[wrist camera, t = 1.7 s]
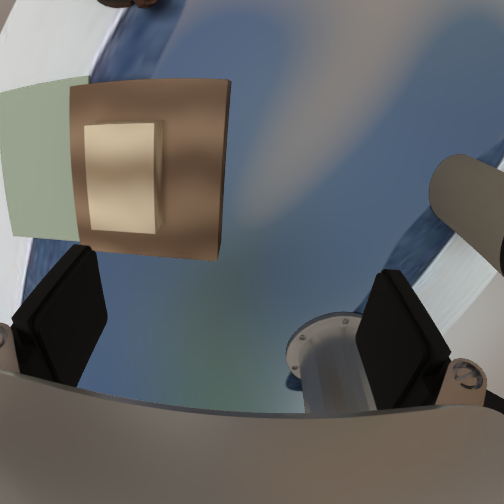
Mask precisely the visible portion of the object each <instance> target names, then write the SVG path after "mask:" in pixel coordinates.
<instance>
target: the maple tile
mask: <svg viewBox="0 0 504 504" xmlns="http://www.w3.org/2000/svg"><path fill="white" fill-rule="evenodd" d="M84 140H85V164H86V180H87V192H88V203H89V213H90V222H91V230H104V231H119V232H134V233H148V234H156V232H157V231H158V229H159V227H160V226H161V224H162V223H163V207H162V144H163V120H137V121H109V122H96V123H92V124H89V125H85V126H84Z"/></svg>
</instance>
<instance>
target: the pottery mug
mask: <svg viewBox="0 0 504 504" xmlns="http://www.w3.org/2000/svg"><path fill="white" fill-rule="evenodd" d="M97 1H98V2H100V3H101V4H103V5H105V6H110V7H115V8H119V7H129V6H132V1H134V2H136V4H137V6H138V7H139V8H150V7H151V6H153V5H155V4H156V3H157V2H158V1H159V0H132V1H131V0H97Z"/></svg>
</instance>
